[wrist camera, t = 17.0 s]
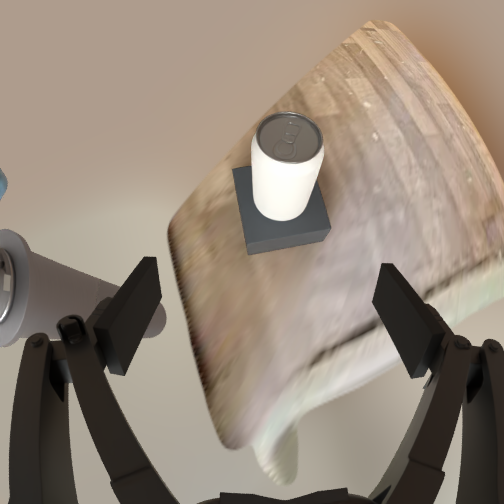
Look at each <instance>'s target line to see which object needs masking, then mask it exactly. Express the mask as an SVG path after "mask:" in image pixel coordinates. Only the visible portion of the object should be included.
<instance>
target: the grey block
mask: <svg viewBox="0 0 504 504" xmlns="http://www.w3.org/2000/svg"><path fill="white" fill-rule="evenodd" d="M232 171H233V177H234V183H235V189H236V194H237V200H238V205H239V210H240V215H241V221H242V226H243V231H244V236H245V241H246V247H247V252H248V255H252V254H258V253H263V252H268V251H273V250H279V249H284V248H289V247H295V246H300V245H305V244H310V243H315V242H321V241H323V240H324V239H325V237H326V236H327V234H328V233H329V231H330V230H331V225H330V222H329V218H328V215H327V211H326V208H325V205H324V201H323V198H322V195H321V191H320V188H319V185H318V182H317V179H316V181H315V184H314V187H313V190H312V192H311V195H310V198H309V200H308V203H307V205H306V207H305V209H304V211H303V212H302V213H301V214H300V215H299V216H297V217H296V218H294V219H291V220H287V221H277V220H272V219H269V218H267V217H265V216H264V215H263V214H262V213H261V212H260V211H259V210H258V209H257V207H256V205H255V202H254V198H253V183H252V166H246V167H240V168H235V169H232Z"/></svg>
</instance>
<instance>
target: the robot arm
mask: <svg viewBox="0 0 504 504" xmlns="http://www.w3.org/2000/svg"><path fill="white" fill-rule="evenodd" d="M6 189H7V178H6V176H5V175H4V173H3V172H2V170H1V169H0V200H1V198H2V196H3V195H4V193H5V191H6ZM15 290H16V272H15V266H14V263H13V260H12V257H11V255H10V254H9V253H8V251H6V250H5V249H3V248H1V247H0V324H2V323H3V322H4V321H5V320H6V318H7V317H8V315H9V313H10V311H11V308H12V305H13V301H14V297H15ZM161 298H162V294H161V288H160V281H159V274H158V267H157V259H156V257H143V259H142V260H141V261H140V263H139V264H138V265H137V266H136V268H135V269H134V270H133V272H132V273H131V274H130V276H129V277H128V278H127V280H126V281H125V282H124V284H123V285H122V286H121V288H120V289H119V290H118V292H117V293H116V295H115V296H114V297H113V298H110V297H107V298H105V299H104V300H102V301H101V302H100V303H99V304H98V305H97V307H96V308H95V310H94V311H93V312H92V314H91V315H90V316H89V317H88V319H87V320H86V322H85V323H84V320H83V318H82V317H81V316H79V315H75V314H72V315H67V316H65V317H63V318H62V319H60V320H59V321H58V323H57V324H56V329H57V331H58V334H59V336H60V338H61V340H60V341H50V339H49V337H48V335H47V334H45V333H35V334H33V335H31V336H30V337H29V338H28V339H27V340H26V343H25V346H24V350H23V355H22V359H21V364H20V368H19V373H18V378H17V384H16V390H15V396H14V403H13V411H12V421H11V431H10V447H9V489H10V498H9V502H8V504H78V500H77V494H76V488H75V482H74V475H73V467H72V459H71V448H70V437H69V410H68V384H69V383H73V385H74V388H75V392H76V395H77V398H78V401H79V404H80V407H81V410H82V413H83V415H84V418H85V421H86V424H87V426H88V429H89V432H90V434H91V436H92V439H93V441H94V444H95V446H96V448H97V451H98V453H99V455H100V457H101V460H102V462H103V464H104V466H105V468H106V470H107V472H108V474H109V476H110V479H111V482H110V484H111V487H112V489H113V491H114V493H115V495H116V497H117V498H118V500H119V502H120V504H180V503H179V502H178V501H177V499H176V498H175V497H174V495H173V494H172V493H171V491H170V490H169V488H168V487H167V486H166V484H165V483H164V481H163V480H162V478H161V477H160V475H159V474H158V472H157V471H156V469H155V468H154V466H153V465H152V463H151V461H150V460H149V458H148V457H147V455H146V453H145V452H144V450H143V448H142V447H141V445H140V443H139V442H138V440H137V438H136V436H135V435H134V433H133V431H132V429H131V427H130V425H129V424H128V422H127V420H126V418H125V416H124V414H123V412H122V410H121V408H120V406H119V404H118V402H117V400H116V398H115V396H114V394H113V392H112V389H111V387H110V385H109V383H108V380H107V378H106V376H105V373H104V369H105V367H106V365H107V367H108V369H109V371H110V373H111V374H117V375H122V376H125V374H126V372H127V370H128V367H129V365H130V363H131V361H132V359H133V356H134V354H135V352H136V350H137V348H138V346H139V344H140V341H141V339H142V337H143V335H144V333H145V331H146V329H147V327H148V325H149V323H150V321H151V319H152V316H153V314H154V312H155V310H156V308H157V306H158V304H159V302H160V300H161ZM372 303H373V305H374V307H375V309H376V310H377V312H378V314H379V316H380V318H381V320H382V322H383V323H384V325H385V327H386V329H387V331H388V333H389V335H390V337H391V339H392V341H393V343H394V345H395V347H396V349H397V351H398V353H399V355H400V357H401V359H402V361H403V363H404V365H405V367H406V369H407V371H408V373H409V375H410V377H411V379H413V378H419V377H424V375H425V374H426V372H427V370H428V368H429V369H430V370H431V372H432V374H431V375H430V377H429V379H428V381H427V382H426V384H425V386H424V387H423V388H424V389H425V390H424V393H423V395H422V398H421V400H420V403H419V405H418V408H417V410H416V412H415V415H414V417H413V419H412V422H411V424H410V426H409V428H408V430H407V432H406V434H405V437H404V439H403V440H402V442H401V444H400V446H399V449H398V450H397V452H396V454H395V456H394V458H393V460H392V461H391V463H390V465H389V467H388V469H387V471H386V472H385V474H384V475H383V477H382V479H381V481H380V482H379V484H378V485H377V487H376V488H375V489H374V491H373V492H372V493H371V494H370V495H369V497H368V498H366V497H363V496H360V495H355V494H348V490H347V488H341V489H333V490H325V491H317V492H314V493H311V494H308V495H304V496H301V497H297V498H294V499H290V500H279V499H273V498H268V497H263V496H259V495H255V494H240V493H224V492H220V498H215V499H210V500H206V501H203V502H200V503H197V504H433V503H434V501H435V499H436V497H437V494H438V492H439V489H440V487H441V485H442V482H443V480H444V476H445V472H443V471H442V467H443V464H444V461H445V458H446V456H447V453H448V450H449V447H450V444H451V441H452V438H453V434H454V431H455V427H456V424H457V420H458V417H459V413H460V409H461V405H462V412H463V429H462V454H461V467H460V477H459V485H458V492H457V499H456V504H504V350H503V348H502V346H501V344H500V343H499V342H497V341H496V340H493V339H487V340H485V341H484V343H483V345H482V346H481V347H477V346H472V345H471V343H470V341H469V340H467V339H466V338H465V337H463V336H460V335H454V333H453V332H452V331H451V329H450V328H449V326H448V325H447V324H446V322H445V321H443V318H442V317H441V316H440V314H439V313H438V312H437V311H436V309H435V308H433V307H432V306H431V305H429V304H425V303H424V302H423V301H422V299H421V298H420V297H419V296H418V294H417V293H416V292H415V290H414V289H413V288H412V287H411V285H410V284H409V283H408V282H407V280H406V279H405V278H404V277H403V275H402V274H401V273H400V272H399V271H398V269H397V268H396V267H395V266H394V265H393V263H382V264H381V268H380V272H379V277H378V281H377V285H376V289H375V293H374V297H373V300H372Z"/></svg>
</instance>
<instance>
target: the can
mask: <svg viewBox="0 0 504 504" xmlns="http://www.w3.org/2000/svg"><path fill="white" fill-rule="evenodd" d="M323 157H324V145H323V136H322V132H321V130H320V128H319V127H318V126H317V124H316V123H315V122H314V121H312V120H311V119H310V118H308V117H306V116H304V115H302V114H299V113H295V112H278V113H274V114H271V115H269V116H267V117H266V118H264V119H263V120H262V121H261V122H260V124H259V125H258V127H257V130H256V133H255V135H254V137H253V139H252V144H251V160H252V183H253V198H254V202H255V205H256V207H257V209H258V210H259V211H260V212H261V213H262V214H263V215H264V216H265V217H267V218H269V219H272V220H277V221H287V220H291V219H294V218H296V217H297V216H299V215H300V214H301V213H302V212H303V211H304V209H305V207H306V205H307V203H308V200H309V198H310V195H311V192H312V190H313V187H314V184H315V181H316V178H317V176H318V173H319V170H320V167H321V164H322V161H323Z"/></svg>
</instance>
